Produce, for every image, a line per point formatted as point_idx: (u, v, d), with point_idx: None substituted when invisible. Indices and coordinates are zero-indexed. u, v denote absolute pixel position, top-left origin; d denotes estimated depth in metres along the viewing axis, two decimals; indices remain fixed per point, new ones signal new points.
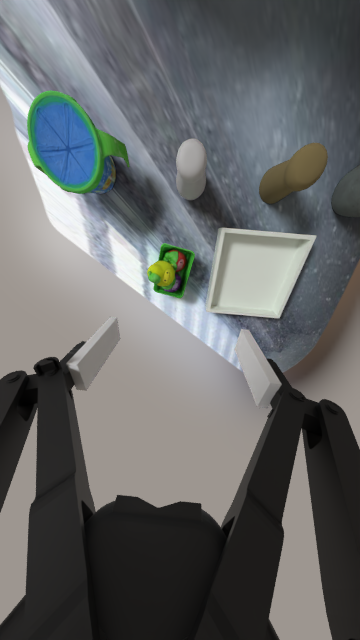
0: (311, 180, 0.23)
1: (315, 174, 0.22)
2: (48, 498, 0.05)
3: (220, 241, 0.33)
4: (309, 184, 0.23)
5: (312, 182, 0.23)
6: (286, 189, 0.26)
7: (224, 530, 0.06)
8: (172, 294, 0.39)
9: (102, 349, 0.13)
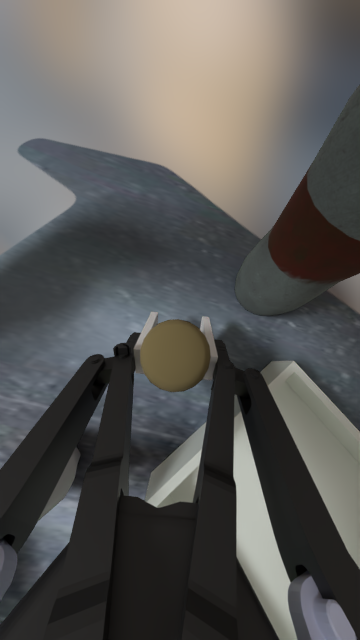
0: (200, 365, 0.10)
1: (196, 354, 0.10)
2: (99, 471, 0.06)
3: None
4: (204, 368, 0.10)
5: (206, 362, 0.10)
6: None
7: None
8: None
9: None
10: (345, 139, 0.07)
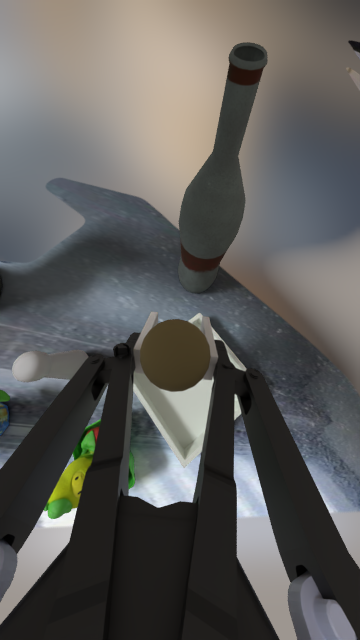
0: (200, 365, 0.10)
1: (196, 354, 0.10)
2: (99, 471, 0.06)
3: None
4: (204, 368, 0.10)
5: (205, 362, 0.10)
6: None
7: None
8: None
9: None
10: (179, 224, 0.23)
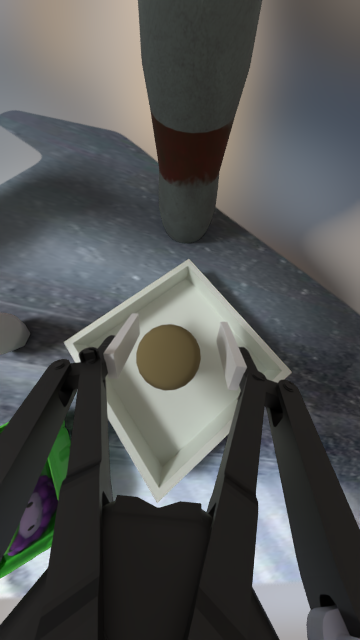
0: (189, 366, 0.11)
1: (187, 356, 0.11)
2: (76, 480, 0.05)
3: (75, 358, 0.18)
4: (194, 369, 0.11)
5: (195, 364, 0.11)
6: None
7: None
8: (42, 544, 0.14)
9: (128, 342, 0.15)
10: None
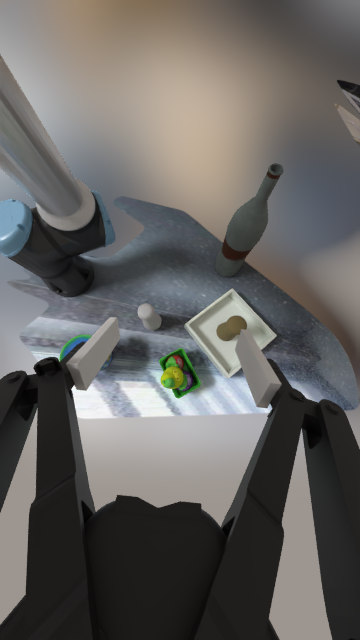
0: (245, 327, 0.39)
1: (244, 324, 0.39)
2: (48, 498, 0.05)
3: (190, 330, 0.46)
4: (246, 328, 0.39)
5: (246, 326, 0.39)
6: None
7: (224, 530, 0.06)
8: (192, 388, 0.41)
9: (102, 349, 0.13)
10: (227, 231, 0.40)
